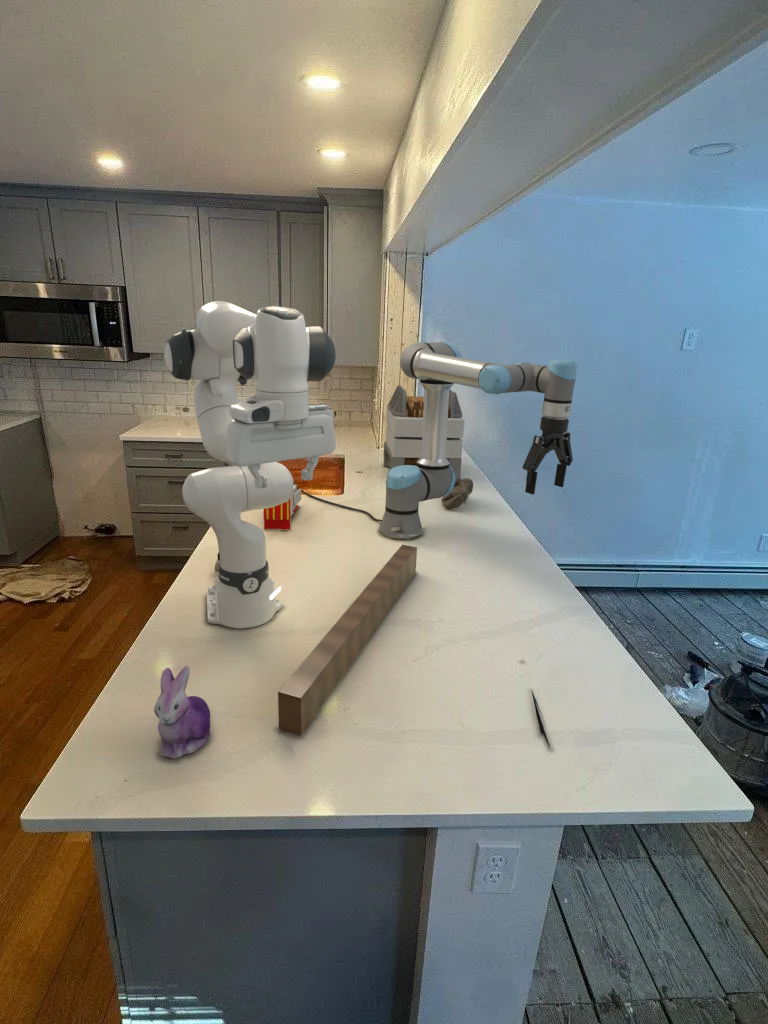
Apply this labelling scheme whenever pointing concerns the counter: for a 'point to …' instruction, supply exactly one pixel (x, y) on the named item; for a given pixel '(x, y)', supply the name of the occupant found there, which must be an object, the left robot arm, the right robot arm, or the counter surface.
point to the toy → (282, 512)
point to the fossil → (458, 494)
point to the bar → (342, 644)
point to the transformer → (419, 431)
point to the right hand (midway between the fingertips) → (544, 489)
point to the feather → (539, 718)
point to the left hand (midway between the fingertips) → (284, 483)
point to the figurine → (180, 716)
